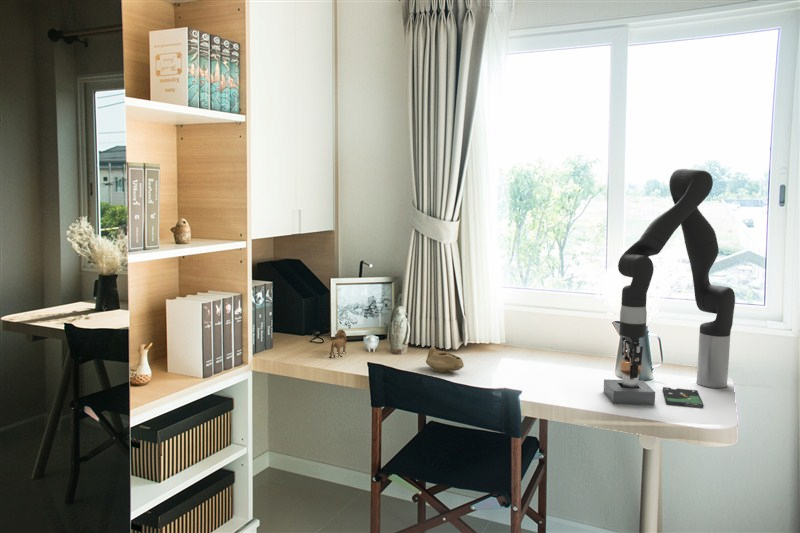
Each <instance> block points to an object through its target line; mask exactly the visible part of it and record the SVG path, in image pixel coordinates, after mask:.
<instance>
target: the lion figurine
mask: <svg viewBox="0 0 800 533" xmlns="http://www.w3.org/2000/svg"><path fill="white" fill-rule="evenodd" d="M334 337H335V339H333V340H332V341H331V345H330V351H329V358H330V357H332V356H333V357H332V358H333V359H336V355H335V349H336V352H338V353H336V354H337V355H338V357H339V356H341V355H342V354H341V348H342V353H343V352H346V347H347V343H348V341H347V338H348V337H347V334H346V331H345V330H344V329H337V331H336V333H334Z"/></svg>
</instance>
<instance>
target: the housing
mask: <svg viewBox="0 0 800 533" xmlns="http://www.w3.org/2000/svg"><path fill="white" fill-rule="evenodd" d="M603 393H604V395H605V396H606V398H607V399H608V400H609V401H610V402H611V404H612V405H625V406H655V403H656V402H655V401H656V391H655V390H654V389H653V388H652V387H650V385H649V384H648V383H646V382H645V381H644V380H639V384H638V388H622V379H603Z"/></svg>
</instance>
